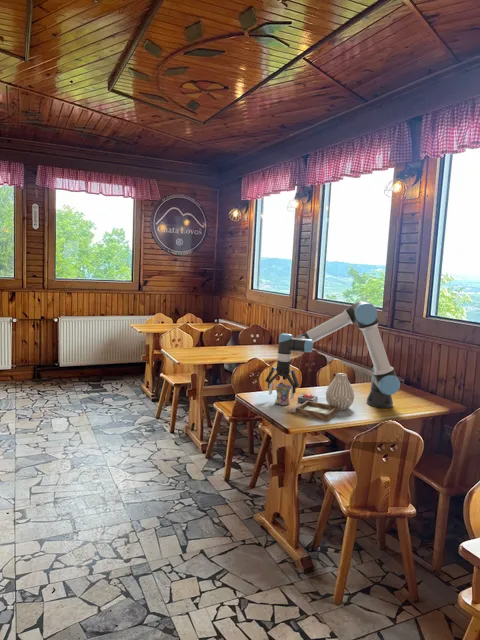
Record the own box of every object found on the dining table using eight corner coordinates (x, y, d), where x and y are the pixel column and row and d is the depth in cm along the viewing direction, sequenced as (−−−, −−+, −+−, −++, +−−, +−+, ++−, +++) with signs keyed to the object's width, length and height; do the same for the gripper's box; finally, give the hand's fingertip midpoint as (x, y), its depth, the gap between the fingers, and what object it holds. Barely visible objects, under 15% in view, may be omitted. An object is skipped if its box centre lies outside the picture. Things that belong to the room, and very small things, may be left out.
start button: (312, 401, 275) (313, 394, 274) (310, 403, 271) (310, 396, 270) (305, 399, 277) (305, 393, 277) (302, 401, 273) (302, 394, 272)
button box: (317, 403, 276) (317, 396, 275) (312, 406, 268) (312, 400, 267) (302, 400, 280) (303, 393, 280) (297, 403, 272) (297, 397, 272)
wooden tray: (337, 412, 259) (338, 406, 259) (327, 421, 243) (328, 414, 243) (298, 405, 270) (299, 398, 269) (286, 412, 254) (287, 406, 253)
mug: (293, 405, 269) (294, 387, 268) (279, 406, 265) (281, 388, 263) (281, 399, 279) (283, 382, 278) (268, 400, 275) (269, 383, 274)
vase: (323, 403, 276) (325, 370, 274) (350, 405, 276) (352, 371, 274) (327, 411, 261) (329, 376, 258) (355, 413, 260) (358, 378, 258)
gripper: (306, 362, 267) (303, 398, 269) (266, 356, 278) (264, 391, 281) (301, 364, 260) (298, 401, 263) (261, 358, 272) (258, 393, 274)
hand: (281, 396), depth 272 cm, fingers open, 13 cm apart
